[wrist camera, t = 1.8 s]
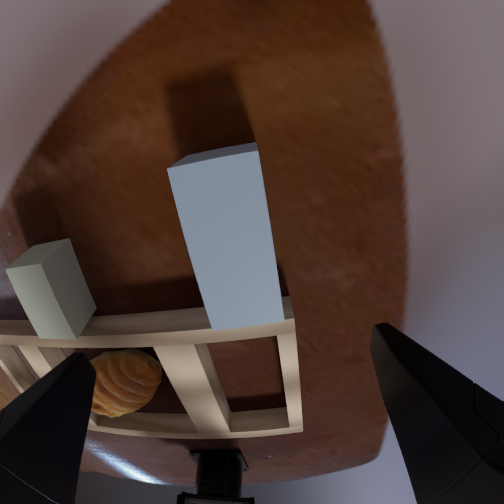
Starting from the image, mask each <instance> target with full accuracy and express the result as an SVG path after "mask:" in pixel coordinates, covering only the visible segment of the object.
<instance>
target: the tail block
mask: <svg viewBox="0 0 504 504" xmlns="http://www.w3.org/2000/svg"><path fill="white" fill-rule="evenodd" d="M5 270H6V272H7V274H8V277H9V279H10V281H11V283H12V286H13V288H14V290H15V292H16V294H17V296H18V298H19V301H20V303H21V305H22V307H23V309H24V310H25V312H26V314H27V316H28V318H29V320H30V322H31V324H32V326H33V327H34V329H35V331H36V333H37V334H38V336H39V338H45V339H71V340H77V338H78V337H79V335H80V334H81V332H82V330H83V329H84V327H85V326H86V324H87V322H88V321H89V319H90V318H91V316H92V315H93V313H94V312H95V310H96V309H97V307H96V305H95V303H94V300H93V298H92V296H91V293H90V291H89V289H88V286H87V284H86V281H85V279H84V276H83V274H82V271H81V269H80V266H79V263H78V261H77V258H76V255H75V252H74V250H73V247H72V244H71V241H70V238H68V239H63V240H58V241H53V242H48V243H43V244H39V245H34V246H33V247H31V248H30V249H29V250H28V251H26V252H25V253H24V254H23V255H21V256H20V257H19V258H18V259H17V260H15V261H14V262H13V263H12V264H11V265H10V266H8V267H7V268H6V269H5Z"/></svg>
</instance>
